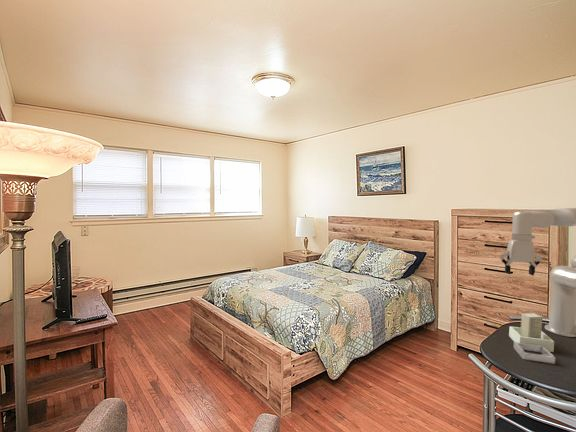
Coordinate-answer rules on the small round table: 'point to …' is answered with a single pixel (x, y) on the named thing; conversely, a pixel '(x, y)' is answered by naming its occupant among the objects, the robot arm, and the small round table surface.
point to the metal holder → (546, 356)
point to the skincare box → (531, 325)
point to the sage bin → (531, 339)
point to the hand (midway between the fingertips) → (519, 274)
